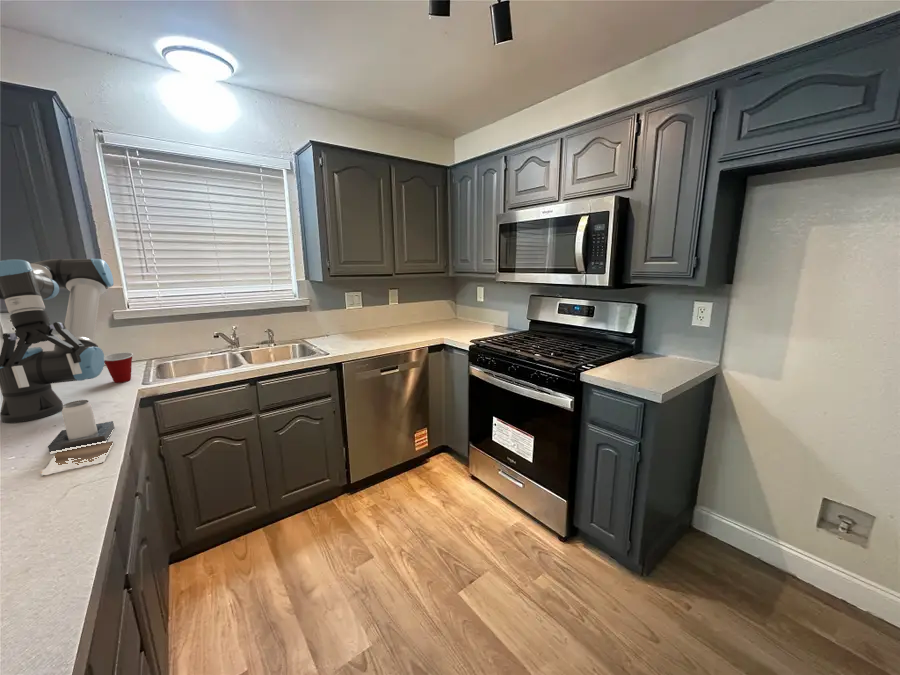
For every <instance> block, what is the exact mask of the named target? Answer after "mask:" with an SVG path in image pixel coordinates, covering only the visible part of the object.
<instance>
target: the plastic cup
mask: <svg viewBox="0 0 900 675" xmlns="http://www.w3.org/2000/svg"><path fill="white" fill-rule="evenodd" d="M133 357H134V353H133V352H115V353H110V354H107V355H106V354H105V355H104V360H105V361H104V366H106V368H107V370H108V372H109V375H110V376H111V379H112V381H113V382H114V383H115V384H121V383H126V382H129V381H131V380H132V363H133V362H132V360H133Z"/></svg>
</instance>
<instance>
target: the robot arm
mask: <svg viewBox="0 0 900 675" xmlns="http://www.w3.org/2000/svg"><path fill="white" fill-rule="evenodd" d="M113 286H114V276H113V274H112V269H111V267H110V266H109V264H108V263H107V261H105V260H104V259H102V258H91V257H90V258H62V259H61V258H55V259H54V258H53V259H46V260H42V261H36V262H31V263H30V262H29V261H27V260H25V259H15V258H13V259H2V260H0V300H4V303H5V306H6V310H7V312H8V313H9V314H10V315H9V318H10V320H11V324H12V326H13V328H14V329H15V331H14V332H11V333H9V332H7V333H3V334H2V339H3V340H2V341H3V343H2V346H1V351H0V392H1V395H2V403H1V408H0V421H1V423H4V422H5V423H6V424H11V423H12V424H15V423H14V422H16V423H22V421H24V422H29V421H32V420H33V421H34V420H38V419H41V418H42V419H43V418H45V417H49V416H52V415H55V414H57V413H60V412H62V409H63V407H62V406H63V405H64V403H63V401H62V400H61V399H60V397H59V396H58V394H57V393H56V392H55V391H54V390H53V388H52V384H59V383H68V382H77V381H78V382H82V381H85V380H92V379H95V378H97V377H98V376H100V375H101V373H102V372H103V370H104V367H105V363H104V361H105V360H104V356H105V354H104V351H103V350H102V348H100V347H99V345H98V344H97V343H96V342H95V337H96V336H95V335H96V330H97V328H96V327H97V322H98V313H99V307H100V306H99V304H100V299H101V298H100V297H101V296H102V295H104V294H105V293H106V291H107V288H111V287H113ZM60 289H66V290H68V291H69V296H68V303H67V309H66V314H65V320H64V323H63V322H57V321H55V322H53V324H51V323H50V321H51V320H50V318H49V315H48V312H47V311H46V310H45V309H46V305H45V303H44V301H45V300H46V301H48V300H51V299H54V298H55V297H56V296H58V294H59V293H60ZM53 330H54V331H56V333H58V334H59V335H60V336H61V338H59V337H58V336H57V335H56V334H54V333H52V332H53ZM18 338H19V339H18ZM17 340H18V341H17ZM47 341H48V342H50V343H52V344H54V347H53V350H44V349H43V348H42V347H40V346H36V347H31V346H32V345H33V344H38V343H40V342H41V343H43V342H44V343H45V342H47ZM16 345H17V346H16ZM29 347H30V348H29Z"/></svg>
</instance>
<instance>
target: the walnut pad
mask: <svg viewBox="0 0 900 675" xmlns="http://www.w3.org/2000/svg"><path fill="white" fill-rule="evenodd" d="M112 443H113V444H114V441H113V440H112V441H107V442H106V443H101V444H96V445H91V446H86V447H81V448H77V449H72V450H67V451H62V452H57V453H56V454H53V456H55V458H56V461H55V462H56V463H58V465H62V464H68V463H66V462H65V461H69V460H68V458H74V459H77V460H74V459H71V460H74V461H72V463H73V462H78V463H83V462H80V461H82V460H84V459H86V460H87V459H88V461H89V462H92V461H94V459H92V458H94V457H98V456H100V455H102V454H104V453H107V452H108V450H109V448H110V446H111V445H112ZM105 455H106V454H105ZM78 458H81V459H78ZM98 458H99V457H98ZM90 459H91V460H90ZM95 459H97V458H95ZM84 462H87V461H84ZM59 463H60V464H59ZM78 463H75V464H77V465H79V464H78Z"/></svg>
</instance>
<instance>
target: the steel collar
mask: <svg viewBox="0 0 900 675" xmlns="http://www.w3.org/2000/svg"><path fill="white" fill-rule="evenodd" d="M96 426H97V431H98V432H97V434H96V435H91V436H86V437H81V438H75V439H70V440H68V436H67V432H66V429H61V431H60V432H59V433H58V434H57V435H56V436H55V438H54V439H53V440H52V441H51V442H50V444H48V446H47V448H48V451H49V452H51V451H56V450H62V449H65V448H70V447H76V446H81V445H87V444H92V443H97V442H102V441H106V440H107V438H108V437H109V435H110V434H111V432H112V430H113V429H114V430H115V424H114V421H113V420H111V421H107V422H105V421H104V422H101V423H96ZM114 430H113V431H114ZM112 433H113V432H112ZM111 435H112V434H111ZM111 435H110V436H111ZM109 438H110V437H109Z"/></svg>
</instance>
